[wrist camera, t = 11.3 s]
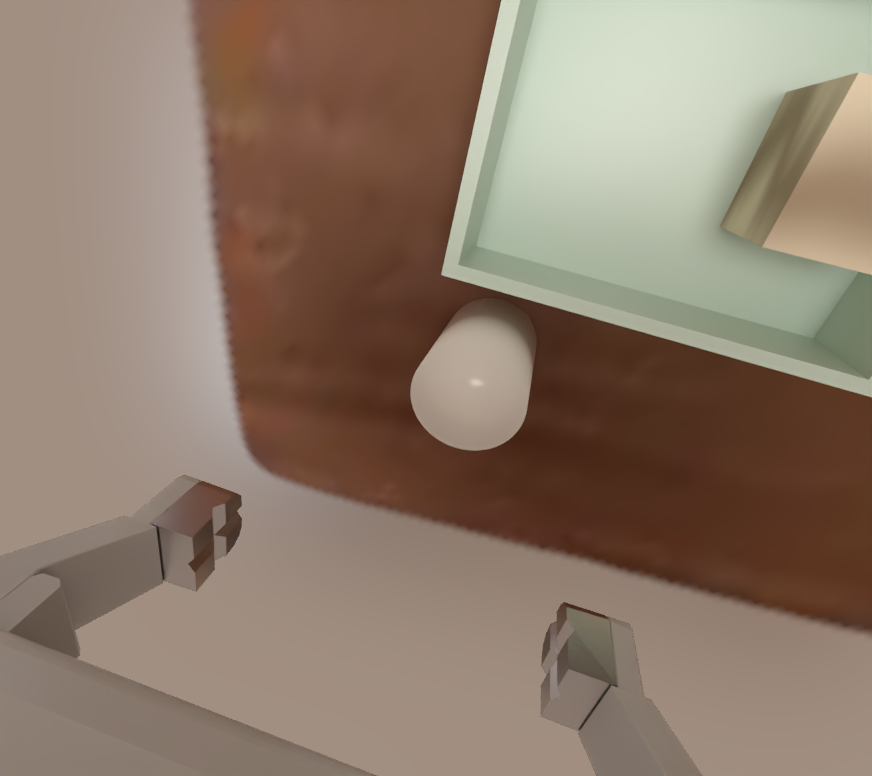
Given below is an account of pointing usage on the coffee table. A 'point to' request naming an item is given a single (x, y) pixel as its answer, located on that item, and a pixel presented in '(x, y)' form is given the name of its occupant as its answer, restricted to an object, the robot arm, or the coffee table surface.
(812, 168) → the beech cube
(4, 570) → the robot arm
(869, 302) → the tray
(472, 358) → the ceramic cylinder
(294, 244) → the coffee table surface
